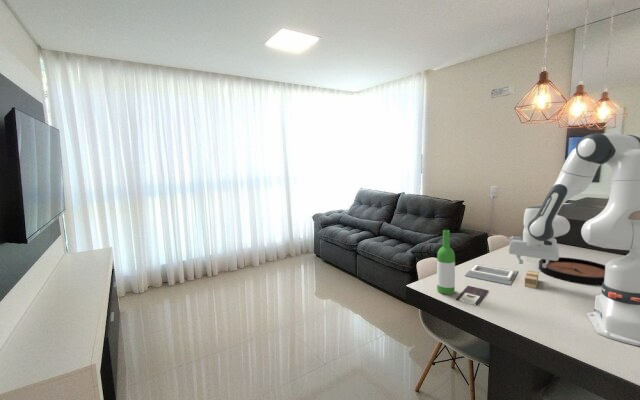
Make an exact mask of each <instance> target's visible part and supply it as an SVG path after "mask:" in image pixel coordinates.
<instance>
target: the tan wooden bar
mask: <svg viewBox="0 0 640 400" xmlns="http://www.w3.org/2000/svg"><path fill="white" fill-rule="evenodd" d="M538 282H539V272H538V271H533V270H527V272H526V274H525V277H524V287H526V288H531V289H537V287H538Z"/></svg>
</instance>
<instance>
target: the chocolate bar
mask: <svg viewBox="0 0 640 400" xmlns="http://www.w3.org/2000/svg"><path fill="white" fill-rule="evenodd" d="M486 293H487V294H488V293H489V290H488V289H484V288H480V287H476V286H472V285H467V286H466V287H465V288H464V289H463V291H462V292H461V293H460V294H459V295H458V296H457V297H456V298H455V300H456V301H458V300H460V301H459V302H462V301H464V302H463V303H465V302H468V303H467V304H469V303H472V304H471V305H473V304H476V305H475V306H477V305H478V304H479V303H480V304H481V302H482V301H483V299H484V298H485V297H486V296H487V294H486ZM484 296H485V297H484ZM480 304H479V305H480ZM479 305H478V306H479Z"/></svg>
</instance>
